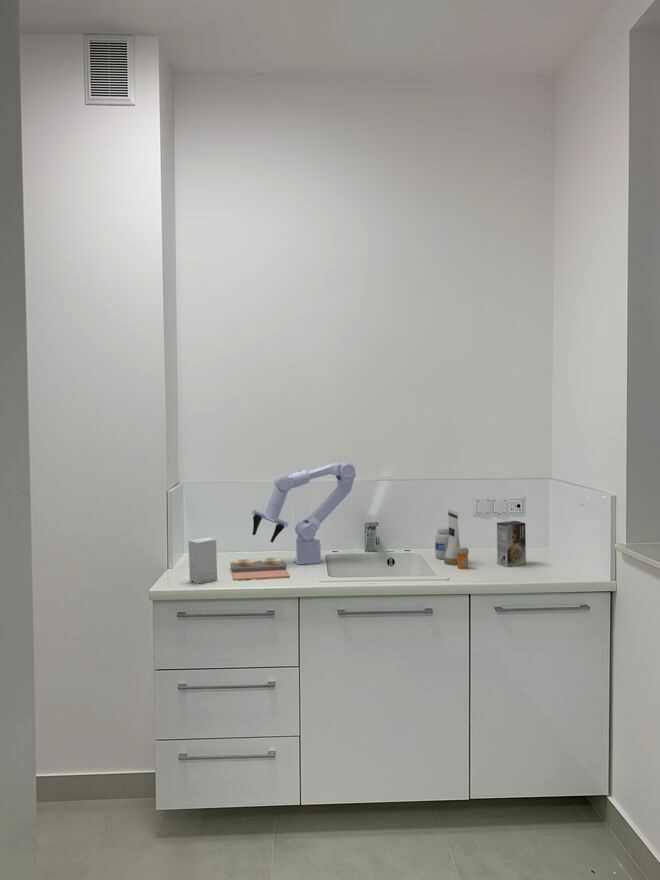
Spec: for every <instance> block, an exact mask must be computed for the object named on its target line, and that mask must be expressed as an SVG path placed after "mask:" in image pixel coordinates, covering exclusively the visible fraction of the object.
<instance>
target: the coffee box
mask: <svg viewBox="0 0 660 880" xmlns="http://www.w3.org/2000/svg"><path fill="white" fill-rule="evenodd" d="M526 543H527V542H526V522H522V521H519V520H509V521H508V520H507V521H501V522H496V544H497V545H496V548H497V549H496V552H497V553H496V557H497V558H496V563H497V565H499V566H503V567H506V568H509V567H516V566H523V565H526V564H527V558H526V556H527V554H526V553H527V551H526V549H527V546H526Z"/></svg>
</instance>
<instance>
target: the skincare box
mask: <svg viewBox="0 0 660 880" xmlns="http://www.w3.org/2000/svg"><path fill="white" fill-rule="evenodd" d="M217 559H218V558H217V539H215V538H212V537H210V536H209V537H207V536H206V537H202V538H196V539H190V540H188V560H189V561H188V562H189V581H190V582H192V581H193V582H192V583H194V582H195V583H194V584H196V583H200V584H204V583H208V582H213V581H217V580H218V567H217V566H218V564H217V562H218V561H217Z"/></svg>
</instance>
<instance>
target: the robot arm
mask: <svg viewBox="0 0 660 880" xmlns="http://www.w3.org/2000/svg"><path fill="white" fill-rule="evenodd" d="M285 475H286V476H285ZM285 475H280V476H278V477H277V478H276V479H275V480H274V488H273V490H272V492H271V494H270V497H269V500H268V503H267V505H266V508H265V511H264V512H262V511H260V510H257V509H253V510H252V513H251V514H252V515H253V516H252V519H253V520H252V521H253V526H252V527H253V528H252V536H256V534H257V530H258V529H259V525H260V523H261V521H262V519H263V520H267V521H268V522H269V521H270V522H272V523H274V524H275V528H274V531H273V534H272V535H271V538H270V541H269V542H270V543H274V541H275V540H276V538H277V537H278V536H279V534H280V533H281V532H282V531H283V530H285V528H288V525H289V522H287V521H286V520H282V519H281V518H279V517H280V514H281V512H282V510H283V506H284V504H285V501H286V499H287V495H288V493H289V491H291V489H295V488H298V487H301V486H304V485H307V484H308V485H309V483H310V481H311V480H312V479H316V478H320V477H324V476H326V475H327V476H328V475H333V476H335V478H336V481H337V486H336V487H335V489H334V490H333V491H332V492H331V493H330V494H329V495H328V496H327V497H326V499H324V500H323V502H322V503H321V504H320V505H319V506H317V508H316V509H315V510H314V511H313V512H312V513H311V514H310V515H308V516H307V517H305V518H304V519H303V520H301V521H299V522H298V523H296V525H295V527H294V531H295V534H296V535H297V537H296V538H295V539H296V541H295V543H296V546H295V547H296V558H294V562H295V563H296V564H297V565H308V564H311V565H312V564H321V563H322V561H321V557H322V556H321V555H322V552H321V551H322V549H321V541H320V539H315V537H316V533H317V531H318V530H320V526H321V524H322V523H323V522H324V521H325V519H327V517H328V516H330V514H331V513H332V512H333V511H334V510H336V508H337V506H338V505H340V504H341V502H342V501H343V500H344V499H345V498H346V497H347V496H348V495H349V494H350V493H351V491H352V489H353V484H354V482H355V481H354V480H355V479H356V476H357V474H356V469H355V466H354V465H353V464H352V463H350V462H345V461H338V462H332V463H329V464H326V465H323V466H320V467H318V468H315V469H312V470H309V471H308V470H306V469H301V468H300V469H297V471H295V472H291V473H289V472H288V473H286V474H285Z"/></svg>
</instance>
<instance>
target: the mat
mask: <svg viewBox="0 0 660 880" xmlns="http://www.w3.org/2000/svg"><path fill="white" fill-rule="evenodd" d="M231 575H233V576H232V580H233V579H234V580H238V581H249V580H250V581H251V579H256V580H268V579H269V580H270V578H273V579H286V578H288V577H290V578H291V576H290V573H289V571H288V570H287V569H286V570H274V571H256V572H238V573H232V572H231ZM247 579H249V580H247ZM234 580H233V581H234Z"/></svg>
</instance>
